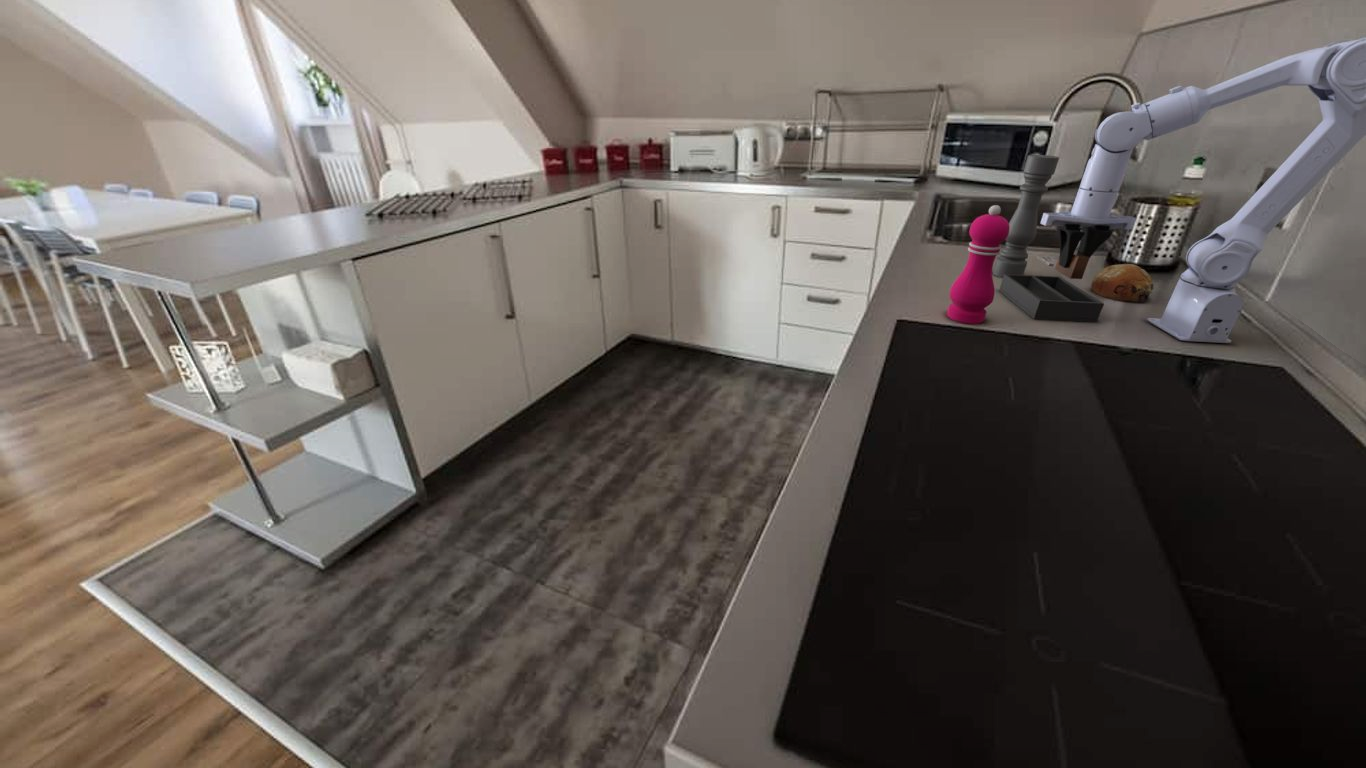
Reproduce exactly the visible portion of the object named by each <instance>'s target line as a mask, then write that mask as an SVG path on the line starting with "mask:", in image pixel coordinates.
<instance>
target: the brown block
mask: <svg viewBox="0 0 1366 768" xmlns="http://www.w3.org/2000/svg"><path fill="white" fill-rule="evenodd" d="M1090 258H1091V257H1088V256H1086V255H1084V254H1082V253H1080V252H1078V250H1077V249H1076V250H1075V252H1074V255H1073V258H1072V260H1071V263H1070V265H1069V267H1068V268H1064V267H1062V266H1060V265H1059V259H1060V254H1059V256H1058V259H1057V260H1055V259H1054V258H1052V257H1051V256H1045V255H1042V256H1040V255H1037V256H1036V259H1037V260H1039V261H1040V262H1042V263H1043V264H1044V265H1047V266H1048V267H1053V268H1054V270H1056V271H1057V272H1059V273H1061V274H1062V275H1063V276H1065V277H1067V278H1069V279H1070V280H1073V279H1074V280H1082V279H1083V277H1084V274H1085V272H1086V269H1087V267H1088V264H1089V261H1090Z"/></svg>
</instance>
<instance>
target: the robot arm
mask: <svg viewBox="0 0 1366 768" xmlns="http://www.w3.org/2000/svg"><path fill="white" fill-rule="evenodd" d="M1282 86H1283V87H1284V86H1291V87H1293V86H1295V87H1296V86H1306V87H1307V88H1308V90H1310V92H1311V93H1313V95H1314V96H1315V97H1316V98H1317V99H1318V103H1319V109H1320V112H1321V116H1322V121H1321V122H1320V123H1319V124H1318V125H1317V126H1316V127H1315V128H1314V129H1313V131H1312V132H1310V134H1309V135H1308V136H1307V137H1306V138H1305V139H1304V140H1303V141H1302V142H1301V143H1300V144H1299V145H1298V146H1297V148H1296V149H1294V151H1293V152H1292V153H1291V154H1290V155H1289V156H1288V157H1287V159H1286V160H1285V161H1284V162H1283V163H1282V164H1281V165H1280V166H1279V167H1278V168H1277V169H1276V170H1275V171H1274V172H1273V174H1272V175H1271V176H1270V177H1269V178H1268V179H1267V180H1266V181H1265V182H1264V183H1263V184H1262V186H1260V188H1258V190H1257V191H1256V192H1255V193H1254V194H1253V195H1252V196H1251V197H1250V198H1249V199H1248V200H1247V201H1246V202H1245V203H1244V205H1243V206H1241V208H1240V209H1239V210H1238V211H1237V212H1236V213H1235V214H1234V216H1232V217H1231V218H1230V219H1229V220H1227V221H1226V222H1224V223H1222V224H1220V225H1219V226H1217V227H1216V228H1215V229H1214V230H1213V231H1212V232H1211V233H1210V234H1208V235H1207V236H1206V237H1204V238H1202V239H1200V240H1198V241H1196V242H1195V243H1193V244H1192V245H1191V246H1190V248H1189V249H1188V250H1187V252H1186V255H1185V262H1186V264H1187V266H1188V268H1187V269H1186V270H1185V271H1184V272H1182V273H1181V274H1180V277H1179V279H1178V281H1177V283H1176V285H1175V288H1174V290H1173V292H1172V294H1171V296H1170V299H1169V301H1168V303H1167V305H1166V307H1165V309H1164V310H1163V311H1164V312H1163V314H1162V316H1161V318H1158V317H1157V318H1155V317H1148V318H1147V320H1146V321H1147V322H1148V323H1150V324H1152V325H1154V326H1156V327H1157V328H1158V329H1161V330H1162V331H1164V332H1166V333H1167V334H1168V335H1171V336H1173V337H1174V338H1175V339H1177V340H1180V341H1182V342H1196V343H1197V342H1199V343H1216V344H1217V343H1218V344H1231V343H1232V340H1231V339H1230V338H1229V336H1230V335H1231V332H1232V331H1233V329H1234V327H1235V324H1236V323H1237V321H1238V319H1239V317H1240V315H1241V313H1242V312H1243V310H1244V300H1243V298H1242V297H1241V296H1240V295H1239V294H1237V292H1236V286H1237V284H1238V282H1240V281H1241V280H1243V279H1244V278H1245V277H1246V276H1247V275H1248V274H1249V272H1250V271H1251V268H1252V265H1253V262H1254V260H1255V258H1256V257H1257V256H1258V255H1259V254H1260V253H1261V252H1262V250H1263V248H1264V245H1265V242H1266V239H1267V236H1268V235H1269V234H1270V232H1272V230H1273V229H1274V228H1275V227H1277V225H1278V224H1279V223H1280V222H1281V221H1283V219H1284V218H1285V217H1286V216H1287V215H1288V214H1289V213H1290V212H1291V211H1292V210H1293V209H1294V208H1295V207H1296V206H1297V205H1298V204H1299V203H1300V202H1301V201H1302V200H1303V199H1304V198H1305V197H1306V196H1307V195H1308V194H1309V193H1310V192H1311V191H1312V190H1313V189H1314V188H1315V187H1316V186H1317V185H1318V184H1319V183H1320V182H1321V181H1322V180H1323V179H1324V178H1325V177H1326V176H1327V175H1328V173H1329V172H1331V171H1332V170H1333V168H1334V167H1335V166H1336V165H1338V163H1340V161H1341V160H1342V159H1344V158H1345V156H1346V155H1347V154H1348V153H1349V152H1350V151H1351V150H1353V148H1354V147H1355V146H1356V145H1357V144H1358V143H1359V142H1360V141H1361V140H1362V139H1363V138H1365V136H1366V37H1365V36H1364V37H1362V38H1359V39H1354V40H1340V41H1336V42H1335V41H1334V42H1332V43H1329V44H1327V45H1325V46H1323V47H1316V48H1313V49H1309V50H1305V51H1301V52H1298V53H1295V54H1294V53H1293V54H1290V55H1287V56H1285V57H1282V58H1280V59H1277V60H1275V61H1272V62H1270V63H1267V64H1265V65H1262V66H1260V67H1257V68H1255V69H1253V70H1250V71H1247V72H1244V73H1242V74H1239V75H1237V76H1235V77H1232V78H1230V79H1228V80H1225V81H1222V82H1220V83H1217V84H1215V85H1212V86H1210V87H1208V88H1205V89H1202V88H1200V87H1197V86H1194V85H1189V86H1186V87H1184V88H1183V86H1182V85H1178V86H1175V87H1173V88H1170V89H1169V93H1168V94H1164V95H1162V96H1160V97H1158V98H1155V99H1152V100H1149V101H1147V102H1144V103H1140V102H1136V103H1133V104H1132V105H1131V106H1130V108H1131V111H1120V112H1115V113H1113V114H1111V115H1109V116H1106V118H1105V119H1104V120H1103V121H1102V122H1100V124H1099V126H1098V127H1097V128H1096V129H1095V131H1094V139H1095V142H1096V144H1094V147H1093V148H1092V151H1091V156H1090V157H1089V159H1088V161H1087V164H1086V167H1085V170H1084V172H1083V175H1082V178H1081V181H1080V184H1079V188H1078V190H1077V193H1076V195H1075V199H1074V202H1073V205H1072V207H1071V210H1070V212H1069V211H1068V212H1066V211H1065V212H1043V213H1042V216H1041V220H1040V223H1039V224H1040V225H1043V226H1044V227H1052V226H1056V232H1057V237H1058V241H1059V255H1060V259H1059V265H1060V266H1062V267H1064V268H1068V267H1069V265H1070V263H1071V260H1072V258H1073V255H1074V252H1075V250H1076V251H1078V252H1080V253H1082V254H1084V255H1086V256H1088V257H1090V258H1091V257H1092V256H1093V255H1094V253H1095V252H1096V251H1097V250H1098V249H1100V247H1101V246H1102V245H1103V244H1104V243H1105V242H1107V240H1108V239H1110V238H1111V237H1112V235H1113V230H1112V229H1124V230H1129V231H1130V230H1133V227H1134V225H1135V222H1136V217H1133V216H1130V215H1118V214H1116V215H1115V214H1111V213H1112V210H1113V207H1114V205H1115V202H1116V199H1117V197H1118V194H1119V191H1120V189H1121V186H1122V184H1123V180H1124V178H1125V175H1126V172H1127V170H1128V167H1129V164H1130V162H1129V161H1130V159H1131V156H1132V153H1133V151H1134V149H1135V148H1136V146H1138V145H1139V144H1140V143H1141V141H1142V140H1145V141H1150V140H1153V139H1155V138H1159V137H1161V136H1164V135H1167V134H1169V133H1173V132H1175V131H1178V130H1181V129H1183V128H1187V127H1190V126H1193V125H1196V124H1198V123H1199V122H1200V121H1201V120H1202V119H1203V117H1205V115H1206V114H1207V113H1208V112H1209V111H1210V110H1212V109H1216V108H1218V107H1222V106H1225V105H1228V104H1231V103H1233V102H1237V101H1239V100H1243V99H1246V98H1248V97H1253V96H1255V95H1258V94H1262V93H1264V92H1268V91H1270V90H1273V89H1277V88H1279V87H1282ZM1081 228H1082V229H1081ZM1077 248H1078V249H1077Z"/></svg>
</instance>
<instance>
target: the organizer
mask: <svg viewBox="0 0 1366 768" xmlns="http://www.w3.org/2000/svg"><path fill="white" fill-rule="evenodd" d="M998 291H999V292H1000V293H1001V294H1002V295H1004V296H1005V297H1006V298H1007V299H1009V300H1010V301H1011V302H1012V303H1013V304H1014V305H1016V306H1017V307H1018V308H1019V309H1021V311H1023V312H1024V313H1026V314H1027V315H1028V316H1029V317H1031V318H1032V319H1033V320H1044V321H1046V320H1047V321H1065V322H1083V323H1084V322H1086V323H1089V322H1090V323H1097V322H1098V320H1099V317H1100V315H1101V313H1102V310H1103V307H1104V305H1105V303H1104V302H1102V301H1101V300H1100V299H1097V298H1096V297H1094V296H1092V295H1091V294H1090V293H1088V292H1086V291H1084V290H1083V289H1081V288H1079V287H1078V286H1076V285H1075V284H1073V283H1071V282H1070V281H1068V280H1066V279H1065V278H1063V277H1061V276H1057V275H1035V274H1034V275H1033V274H1024V275H1014V274H1004V276H1003V278H1002V279H1001V282H1000V286H999V289H998Z"/></svg>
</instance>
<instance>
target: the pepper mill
mask: <svg viewBox="0 0 1366 768" xmlns="http://www.w3.org/2000/svg"><path fill="white" fill-rule="evenodd" d="M1001 212H1002V209H1001V207H1000V205H998V204H994V205H991V206H990V207H989V208H988V214H987V213H986V214H982V215H980V216H978V217H976V218H975V219H974V220H973V222H972V223H971V225H970V228H969V232H968V233H969V237H970V238H971V241H970V242H969V243H968V245H969V246H968V247H967V251H968V252H969V254H968V259H967V262H966V264H965V266H964V268H963V270H962V272H961V273H959V275H958V277H957V278H956V279H955V280H954V281H953V283H952V285H951V288H950V290H949V299H950V300H951V302H952V303H951V304H949V306H948V309H947V312H946V316H947V317H948V318H949V319H951V320H953V321H955V322H958V323H961V324H969V325H975V324H977V325H978V324H982V323H983V322H984V321H985V318H986V315H987V310H986V308H987V307H988V306H990V305H991V304H992V303H993V301H994V299H995V294H996V293H995V292H996V291H995V283H994V278H993V268H994V264H995V261H996V258H997V256H998V255H999V254H1000V251H1001V250H1002V245H1001V244H1002V243H1003V242H1004V241H1006V240H1005V239H1006V238H1007V237H1008V234H1009V230H1010V226H1009V221H1008V220H1007V219H1006V218H1005V217H1003V216H1001V215H1000V214H1001Z"/></svg>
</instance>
